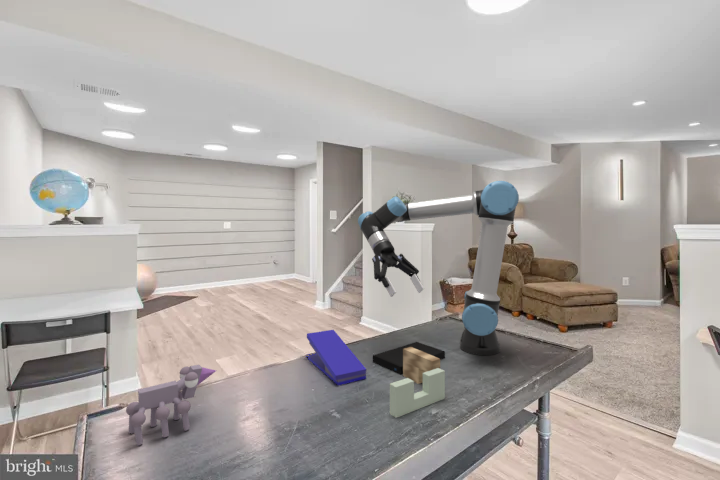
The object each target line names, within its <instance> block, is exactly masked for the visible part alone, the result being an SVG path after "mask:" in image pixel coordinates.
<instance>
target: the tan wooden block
mask: <svg viewBox="0 0 720 480" xmlns="http://www.w3.org/2000/svg"><path fill="white" fill-rule="evenodd" d="M436 368H440V369H441V360H440V358H437V357H435V356H432V355H430V354H427V353H425V352H423V351H420V350H418V349H415V348H413V347H408V348H404V349H403V374H402V376H403V377H404V378H405V379H406V378H409V379H411V380H413V381H414V384H417V385H419V384H423V373H424V372H427V371H430V370H433V369H436Z"/></svg>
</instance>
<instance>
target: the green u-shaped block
mask: <svg viewBox="0 0 720 480" xmlns="http://www.w3.org/2000/svg"><path fill="white" fill-rule="evenodd" d="M445 394H446V370H444V369H443V368H442V369H441V367H440V368H436V369H433V370H430V371H427V372H424V373H423V383H422V390H421V391H418V392H415V382H414V381H413V380H411V379H409V378H406V377H405V378H403V379H400V380H397V381H394V382H391V383H389V414H390V415H391V416H392V417H393V418H400V417H402V416H405V415H408V414H410V413H412V412H415V411H417V410H419V409H423V408H424V407H427V406H430V405H432V404H434V403H437V402H439V401H442V400H445V399H446V395H445Z"/></svg>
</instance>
